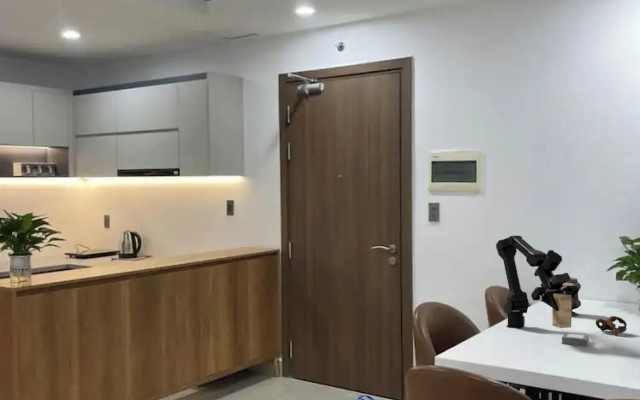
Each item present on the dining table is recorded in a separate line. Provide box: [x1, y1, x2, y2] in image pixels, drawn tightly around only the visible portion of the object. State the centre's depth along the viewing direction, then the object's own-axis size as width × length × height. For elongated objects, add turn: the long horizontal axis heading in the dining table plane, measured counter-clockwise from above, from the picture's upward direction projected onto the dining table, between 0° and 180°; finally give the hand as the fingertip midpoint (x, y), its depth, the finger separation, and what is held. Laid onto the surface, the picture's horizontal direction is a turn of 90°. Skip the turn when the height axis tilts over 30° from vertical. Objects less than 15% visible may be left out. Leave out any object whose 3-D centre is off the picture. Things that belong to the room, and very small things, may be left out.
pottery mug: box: [595, 315, 628, 336], centre depth 275 cm, size 12×10×8 cm
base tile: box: [561, 332, 590, 347], centre depth 259 cm, size 9×9×3 cm
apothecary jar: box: [561, 276, 582, 317], centre depth 317 cm, size 12×12×18 cm
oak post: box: [551, 294, 572, 329], centre depth 257 cm, size 5×5×12 cm
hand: (564, 310), depth 255 cm, fingers closed on oak post, 5 cm apart
